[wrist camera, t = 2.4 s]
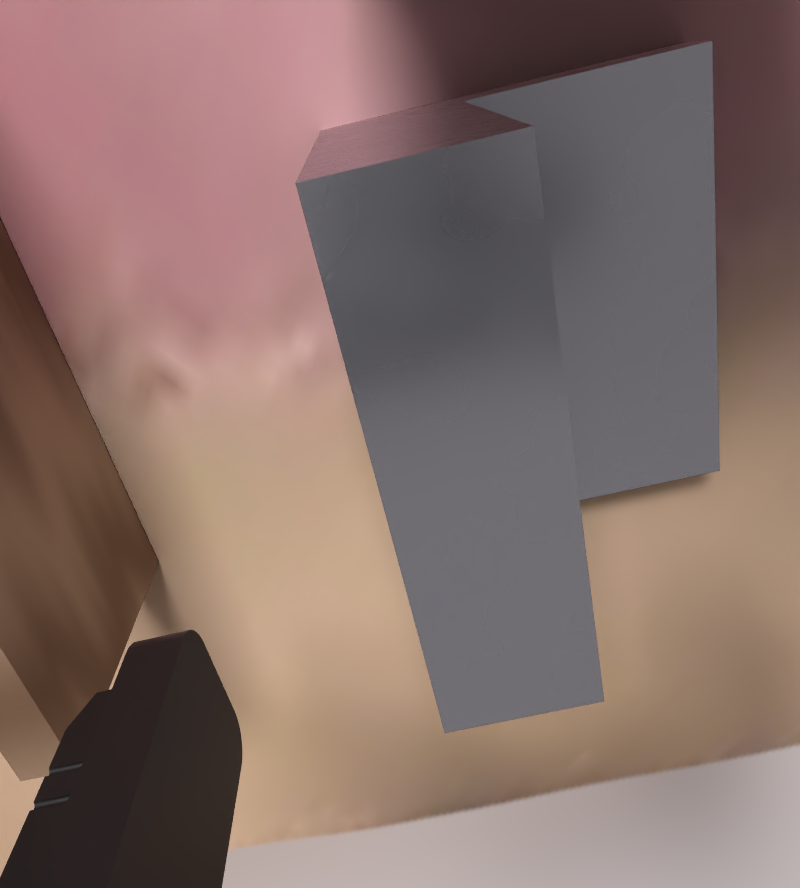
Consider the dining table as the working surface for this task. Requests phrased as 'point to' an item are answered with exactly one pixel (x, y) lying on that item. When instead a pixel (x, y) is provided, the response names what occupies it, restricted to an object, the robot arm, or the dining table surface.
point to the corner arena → (56, 538)
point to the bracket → (523, 346)
